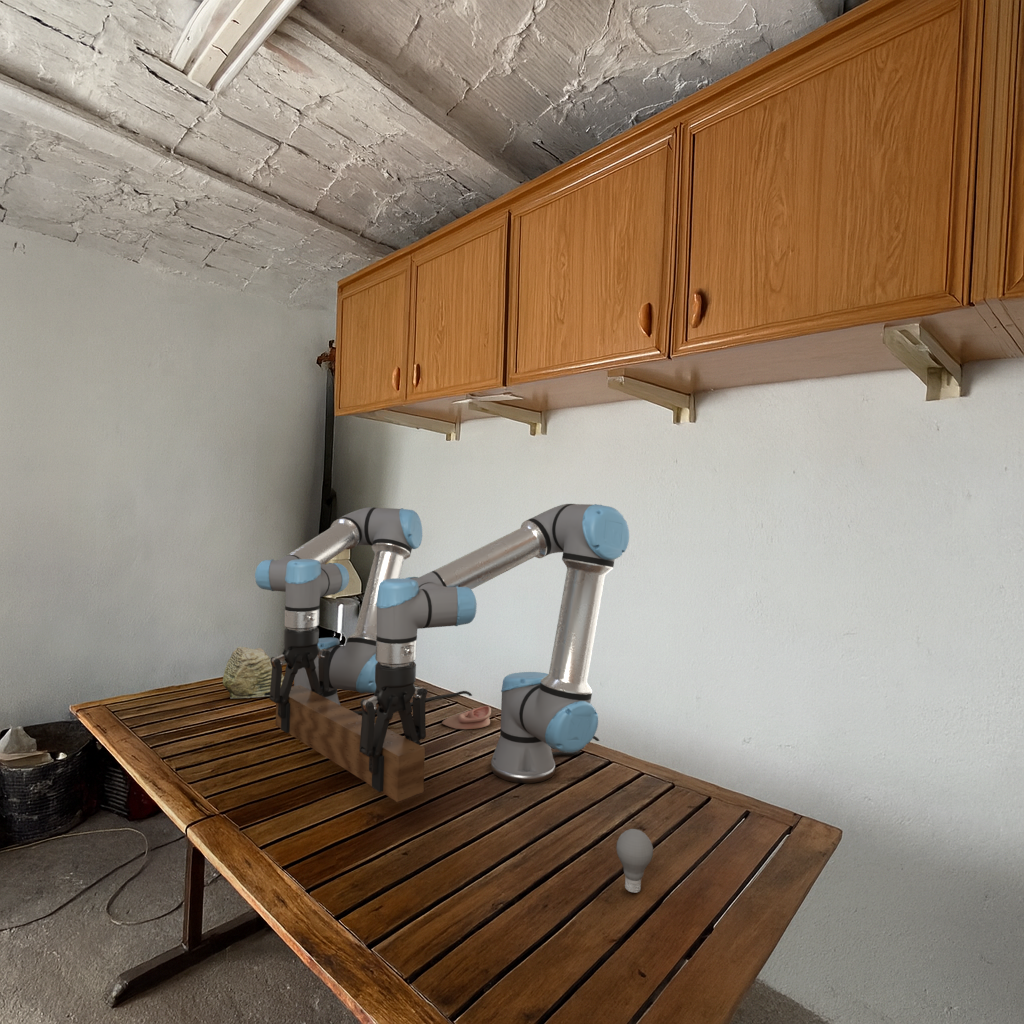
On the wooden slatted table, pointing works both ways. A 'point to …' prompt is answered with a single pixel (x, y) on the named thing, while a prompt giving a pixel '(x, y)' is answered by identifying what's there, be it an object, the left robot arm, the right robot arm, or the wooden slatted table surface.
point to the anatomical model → (470, 719)
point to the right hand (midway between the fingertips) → (392, 783)
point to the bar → (354, 743)
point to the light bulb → (634, 857)
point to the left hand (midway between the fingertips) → (299, 727)
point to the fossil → (248, 673)
